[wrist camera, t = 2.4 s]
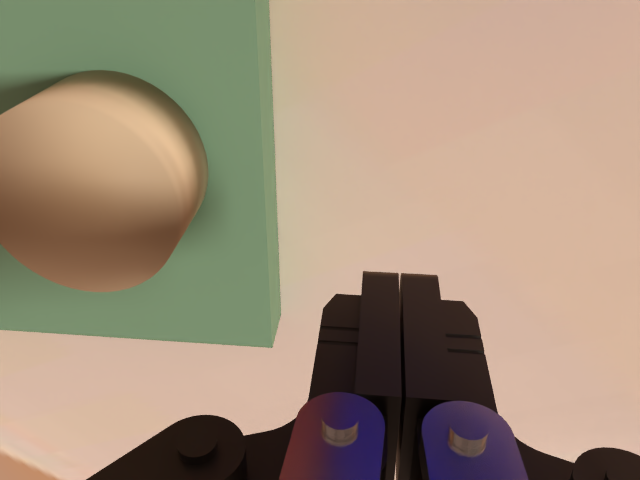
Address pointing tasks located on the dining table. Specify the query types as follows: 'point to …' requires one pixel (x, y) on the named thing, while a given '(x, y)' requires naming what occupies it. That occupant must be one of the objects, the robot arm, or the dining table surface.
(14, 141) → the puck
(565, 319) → the dining table surface
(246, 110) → the green flat block
